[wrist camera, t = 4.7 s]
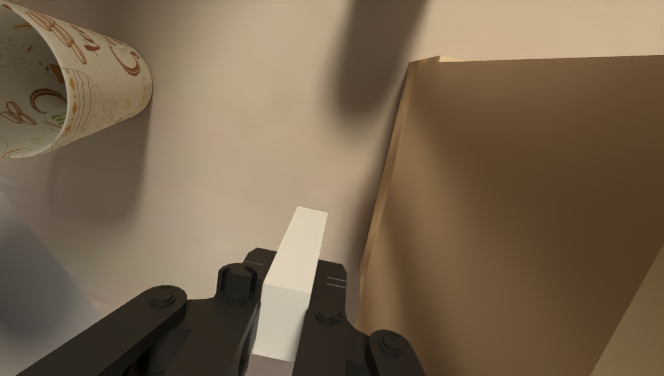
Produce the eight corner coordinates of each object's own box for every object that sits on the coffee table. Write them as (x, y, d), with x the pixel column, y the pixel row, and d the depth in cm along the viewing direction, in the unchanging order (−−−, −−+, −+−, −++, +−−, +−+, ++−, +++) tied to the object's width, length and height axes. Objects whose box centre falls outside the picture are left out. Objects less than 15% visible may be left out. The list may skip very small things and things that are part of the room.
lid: (437, 66, 16) (417, 61, 16) (1983, 65, 1) (1829, 5, 1) (361, 346, 22) (346, 345, 22) (471, 983, 7) (422, 988, 7)
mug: (188, 92, 28) (101, 101, 18) (87, 177, 31) (-33, 223, 21) (113, -2, 26) (-27, -46, 16) (14, 98, 29) (-155, 110, 19)
